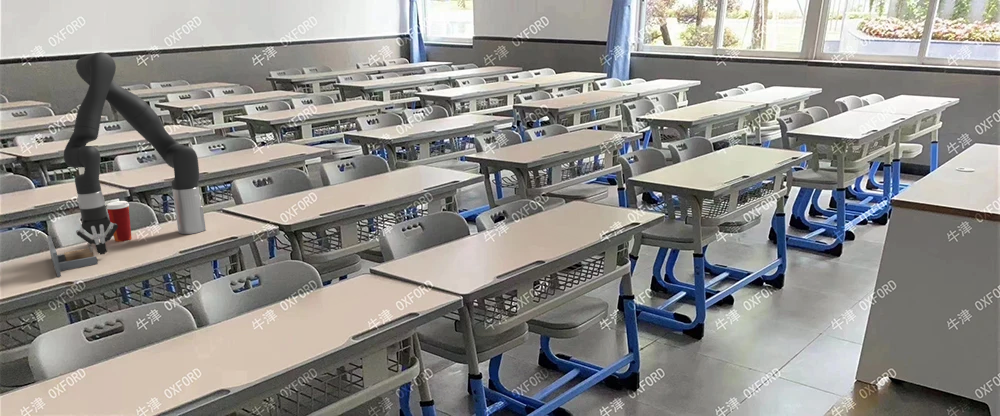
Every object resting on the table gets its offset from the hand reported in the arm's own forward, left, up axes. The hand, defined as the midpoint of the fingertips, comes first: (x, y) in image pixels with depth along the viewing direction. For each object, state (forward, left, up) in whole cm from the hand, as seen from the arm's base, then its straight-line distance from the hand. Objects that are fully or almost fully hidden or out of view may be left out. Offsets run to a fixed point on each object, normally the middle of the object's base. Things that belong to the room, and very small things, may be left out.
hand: (102, 253), depth 241 cm
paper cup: (-9, -21, -2) cm, 23 cm away
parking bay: (+8, 0, -2) cm, 8 cm away
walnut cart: (+7, 0, -2) cm, 7 cm away
